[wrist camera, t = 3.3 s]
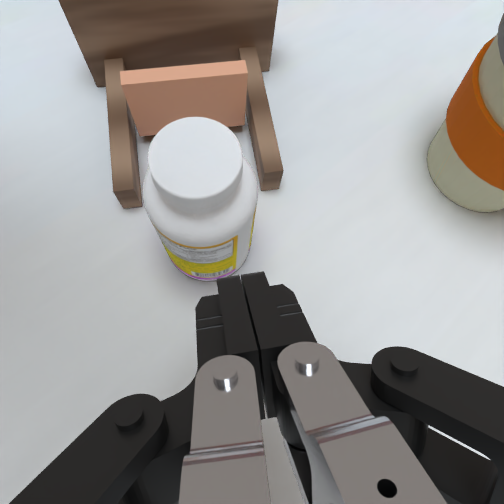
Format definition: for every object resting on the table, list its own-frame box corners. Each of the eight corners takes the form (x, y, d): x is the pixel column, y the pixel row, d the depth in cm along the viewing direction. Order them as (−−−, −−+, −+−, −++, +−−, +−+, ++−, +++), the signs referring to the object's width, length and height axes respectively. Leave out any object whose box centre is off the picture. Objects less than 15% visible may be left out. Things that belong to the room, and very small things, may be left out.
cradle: (295, 186, 33) (329, 89, 22) (104, 211, 31) (37, 119, 20) (263, 46, 38) (277, -91, 27) (95, 61, 36) (37, -80, 25)
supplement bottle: (205, 190, 32) (191, 76, 20) (266, 238, 31) (291, 148, 19) (149, 248, 30) (97, 160, 18) (212, 300, 29) (202, 245, 17)
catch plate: (244, 125, 33) (247, 73, 28) (139, 136, 32) (121, 84, 27) (242, 113, 34) (245, 59, 28) (138, 124, 33) (119, 71, 27)
